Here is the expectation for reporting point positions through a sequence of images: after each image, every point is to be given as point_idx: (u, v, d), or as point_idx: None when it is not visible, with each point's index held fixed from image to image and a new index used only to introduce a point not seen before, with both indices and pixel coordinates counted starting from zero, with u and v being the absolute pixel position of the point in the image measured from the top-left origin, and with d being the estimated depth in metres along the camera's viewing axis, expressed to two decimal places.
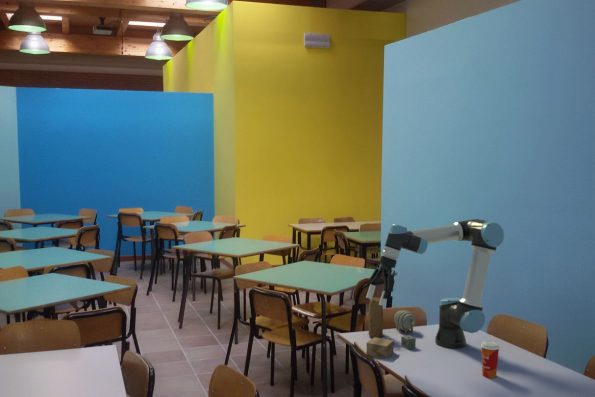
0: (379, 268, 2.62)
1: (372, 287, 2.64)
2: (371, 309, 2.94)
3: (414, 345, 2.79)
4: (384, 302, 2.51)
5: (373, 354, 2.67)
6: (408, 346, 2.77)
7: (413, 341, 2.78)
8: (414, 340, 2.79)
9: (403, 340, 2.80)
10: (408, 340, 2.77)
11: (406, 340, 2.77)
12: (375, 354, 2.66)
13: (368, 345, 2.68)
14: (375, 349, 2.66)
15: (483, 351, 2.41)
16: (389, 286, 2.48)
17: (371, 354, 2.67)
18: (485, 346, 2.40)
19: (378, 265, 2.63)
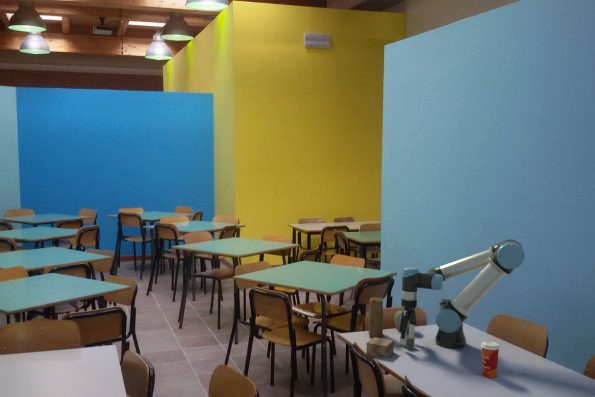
0: None
1: (411, 327, 2.86)
2: (371, 309, 2.94)
3: (413, 345, 2.79)
4: (404, 341, 2.74)
5: (373, 354, 2.67)
6: (407, 346, 2.77)
7: (412, 341, 2.79)
8: (413, 340, 2.79)
9: None
10: (407, 340, 2.77)
11: None
12: (375, 354, 2.66)
13: (368, 345, 2.68)
14: (375, 349, 2.66)
15: (483, 351, 2.41)
16: (400, 327, 2.72)
17: (371, 354, 2.67)
18: (485, 346, 2.40)
19: None
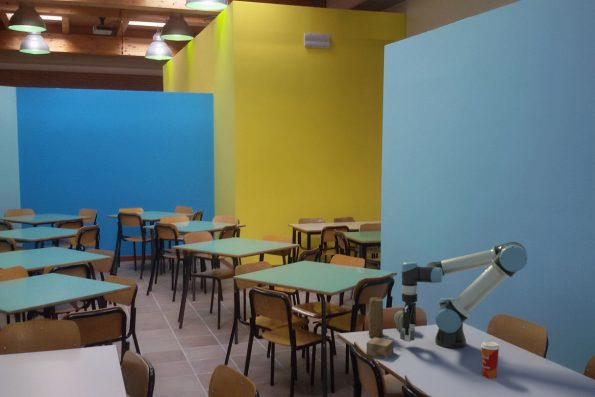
0: None
1: (411, 326, 2.83)
2: (371, 309, 2.94)
3: (413, 337, 2.79)
4: (408, 338, 2.76)
5: (373, 354, 2.67)
6: None
7: (412, 333, 2.79)
8: (413, 332, 2.79)
9: (402, 332, 2.80)
10: None
11: None
12: (375, 354, 2.66)
13: (368, 345, 2.68)
14: (375, 349, 2.66)
15: (483, 351, 2.41)
16: (404, 324, 2.74)
17: (371, 354, 2.67)
18: (485, 346, 2.40)
19: None
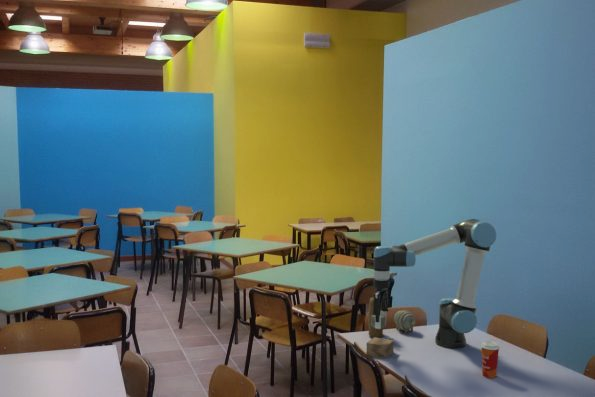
0: None
1: (382, 313, 2.72)
2: (371, 309, 2.94)
3: (384, 324, 2.69)
4: (378, 325, 2.66)
5: (373, 354, 2.67)
6: None
7: (383, 320, 2.69)
8: (384, 319, 2.69)
9: (373, 319, 2.70)
10: None
11: None
12: (375, 354, 2.66)
13: (368, 345, 2.68)
14: (375, 349, 2.66)
15: (483, 351, 2.41)
16: (374, 310, 2.64)
17: (371, 354, 2.67)
18: (485, 346, 2.40)
19: None
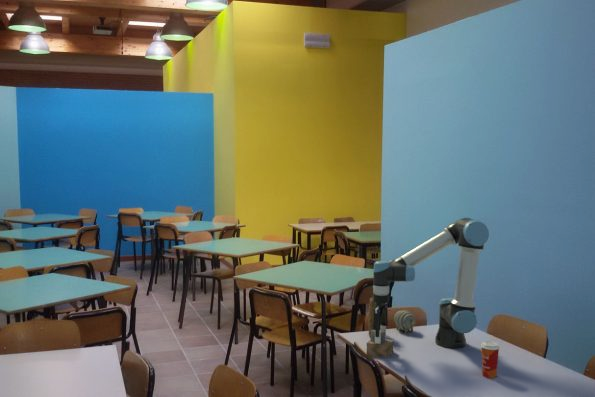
0: None
1: (382, 328, 2.73)
2: (371, 309, 2.94)
3: (384, 339, 2.70)
4: (378, 340, 2.66)
5: (373, 354, 2.67)
6: None
7: (383, 335, 2.69)
8: (384, 334, 2.69)
9: (372, 334, 2.70)
10: None
11: None
12: (375, 354, 2.67)
13: (368, 345, 2.68)
14: (375, 349, 2.66)
15: (483, 351, 2.41)
16: (374, 325, 2.64)
17: (371, 354, 2.68)
18: (485, 346, 2.40)
19: None
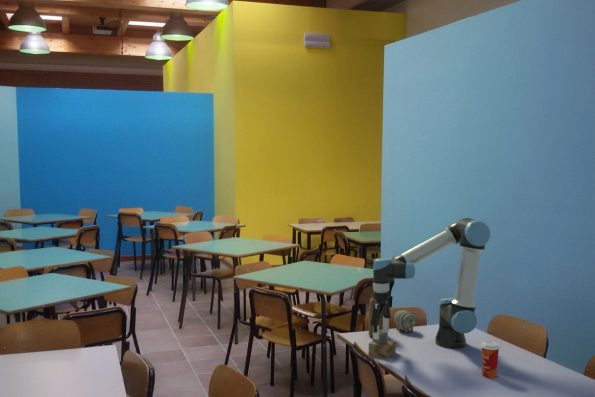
0: None
1: (385, 320, 2.75)
2: (371, 309, 2.94)
3: (386, 340, 2.69)
4: (377, 336, 2.63)
5: (375, 355, 2.66)
6: (380, 341, 2.67)
7: (385, 335, 2.68)
8: (386, 334, 2.69)
9: None
10: (380, 334, 2.67)
11: None
12: (377, 355, 2.66)
13: (370, 346, 2.67)
14: (377, 350, 2.66)
15: (483, 351, 2.41)
16: (372, 320, 2.61)
17: (373, 355, 2.67)
18: (485, 346, 2.40)
19: None
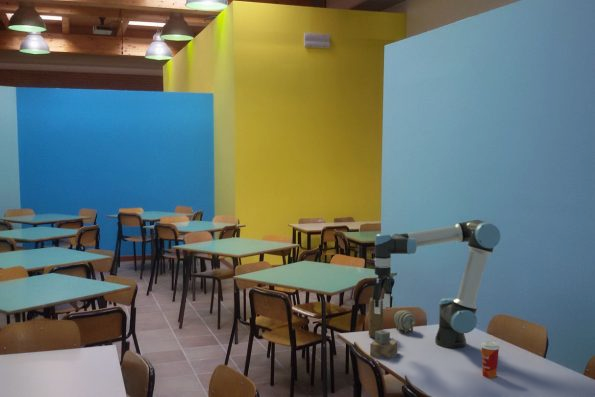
0: None
1: (386, 296, 2.75)
2: (371, 309, 2.94)
3: (388, 340, 2.68)
4: (378, 310, 2.63)
5: (377, 355, 2.66)
6: (382, 341, 2.67)
7: (387, 336, 2.68)
8: (388, 335, 2.68)
9: (377, 335, 2.69)
10: (382, 335, 2.66)
11: (380, 335, 2.67)
12: (379, 355, 2.65)
13: (372, 346, 2.67)
14: (379, 350, 2.65)
15: (483, 351, 2.41)
16: (374, 295, 2.61)
17: (375, 355, 2.66)
18: (485, 346, 2.40)
19: None
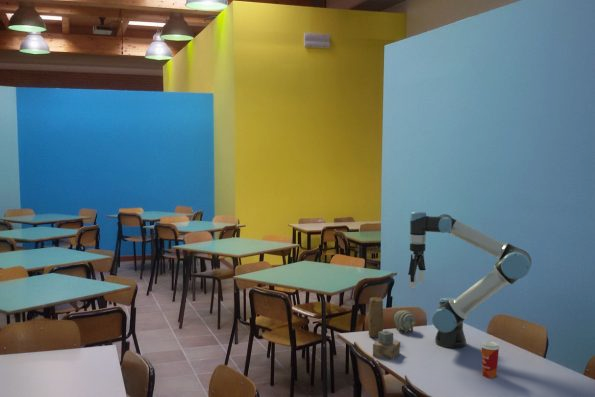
0: None
1: (420, 272, 2.84)
2: (371, 309, 2.94)
3: (392, 340, 2.67)
4: (413, 285, 2.72)
5: (379, 356, 2.65)
6: (386, 342, 2.66)
7: (391, 336, 2.67)
8: (392, 335, 2.67)
9: (380, 336, 2.68)
10: (386, 335, 2.65)
11: (383, 335, 2.66)
12: (382, 356, 2.65)
13: (374, 347, 2.66)
14: (381, 351, 2.65)
15: (483, 351, 2.41)
16: (410, 270, 2.70)
17: (377, 356, 2.66)
18: (485, 346, 2.40)
19: None
